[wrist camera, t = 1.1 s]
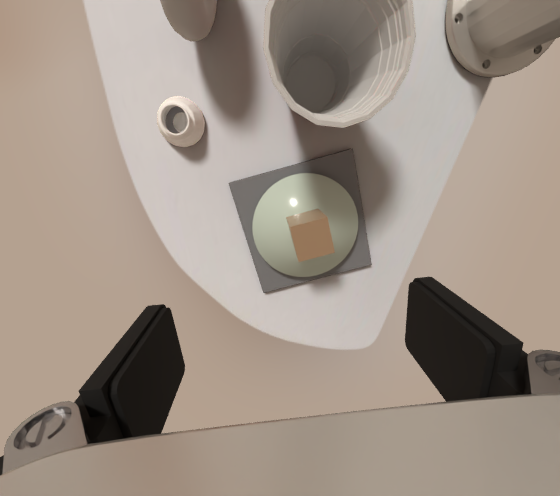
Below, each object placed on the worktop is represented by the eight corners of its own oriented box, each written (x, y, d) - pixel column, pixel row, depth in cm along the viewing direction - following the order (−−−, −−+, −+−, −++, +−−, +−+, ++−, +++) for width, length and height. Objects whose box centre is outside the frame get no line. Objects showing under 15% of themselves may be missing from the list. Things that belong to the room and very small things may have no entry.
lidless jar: (183, 87, 29) (150, 117, 30) (175, 80, 26) (138, 113, 27) (214, 128, 30) (181, 156, 31) (209, 125, 28) (173, 155, 28)
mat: (351, 149, 32) (352, 148, 31) (369, 262, 36) (371, 264, 36) (229, 182, 32) (228, 183, 32) (263, 290, 37) (263, 292, 36)
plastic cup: (341, 151, 32) (384, 146, 20) (252, 122, 30) (245, 100, 19) (376, 47, 29) (450, -28, 17) (279, 9, 27) (289, -100, 16)
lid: (345, 159, 31) (363, 160, 26) (363, 259, 36) (381, 278, 30) (239, 189, 32) (233, 196, 26) (268, 284, 36) (269, 308, 30)
